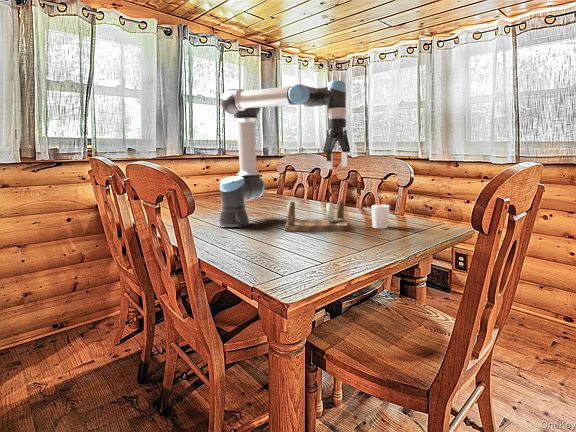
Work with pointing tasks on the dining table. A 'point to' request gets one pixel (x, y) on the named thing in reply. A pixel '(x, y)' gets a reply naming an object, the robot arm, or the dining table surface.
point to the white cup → (380, 216)
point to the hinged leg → (331, 213)
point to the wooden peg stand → (315, 221)
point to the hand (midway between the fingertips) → (337, 167)
